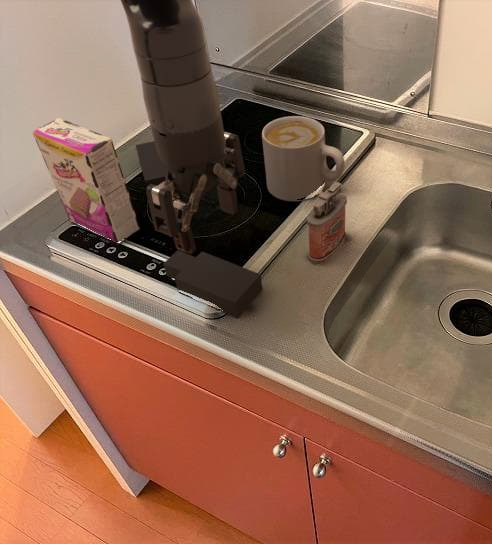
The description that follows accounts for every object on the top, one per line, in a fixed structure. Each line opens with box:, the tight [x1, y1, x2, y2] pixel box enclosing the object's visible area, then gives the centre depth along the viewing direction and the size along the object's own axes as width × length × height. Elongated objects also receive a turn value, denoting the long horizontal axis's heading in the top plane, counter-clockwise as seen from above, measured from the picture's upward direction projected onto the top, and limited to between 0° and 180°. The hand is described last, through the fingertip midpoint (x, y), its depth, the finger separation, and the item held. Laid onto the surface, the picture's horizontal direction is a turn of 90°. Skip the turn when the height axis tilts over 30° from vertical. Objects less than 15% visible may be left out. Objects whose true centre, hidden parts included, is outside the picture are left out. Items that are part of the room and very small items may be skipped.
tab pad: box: [163, 249, 263, 319], centre depth 78 cm, size 6×13×3 cm, turn 61°
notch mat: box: [135, 140, 166, 188], centre depth 100 cm, size 12×12×3 cm
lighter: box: [306, 181, 348, 266], centre depth 82 cm, size 8×3×10 cm, turn 147°
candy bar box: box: [32, 117, 141, 246], centre depth 84 cm, size 11×5×16 cm, turn 58°
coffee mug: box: [261, 115, 346, 202], centre depth 93 cm, size 13×10×10 cm
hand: (209, 230), depth 71 cm, fingers open, 8 cm apart
